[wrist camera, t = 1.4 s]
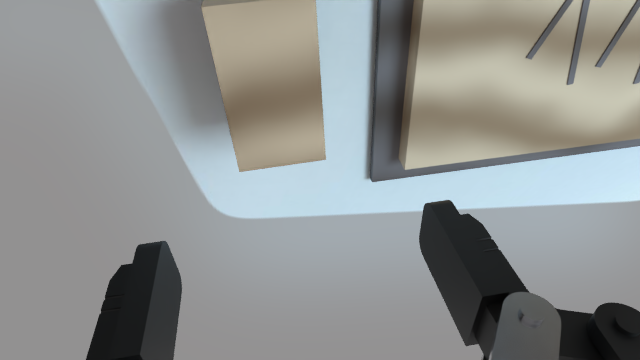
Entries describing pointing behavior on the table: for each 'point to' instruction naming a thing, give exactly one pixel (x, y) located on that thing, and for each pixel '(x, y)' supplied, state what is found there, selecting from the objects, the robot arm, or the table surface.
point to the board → (502, 82)
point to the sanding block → (268, 79)
